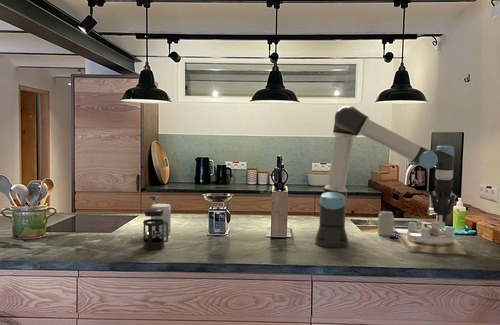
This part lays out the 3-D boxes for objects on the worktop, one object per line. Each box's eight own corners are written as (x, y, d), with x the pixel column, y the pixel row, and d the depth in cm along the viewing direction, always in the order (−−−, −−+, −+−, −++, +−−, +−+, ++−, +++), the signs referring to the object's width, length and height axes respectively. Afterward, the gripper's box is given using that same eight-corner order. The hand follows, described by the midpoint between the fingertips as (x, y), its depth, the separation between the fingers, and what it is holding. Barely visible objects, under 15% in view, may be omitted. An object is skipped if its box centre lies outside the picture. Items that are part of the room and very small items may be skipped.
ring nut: (412, 244, 189) (413, 229, 189) (403, 234, 209) (403, 219, 209) (460, 247, 187) (461, 231, 186) (446, 235, 206) (447, 221, 206)
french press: (138, 249, 186) (137, 197, 185) (146, 244, 196) (146, 194, 194) (163, 251, 185) (163, 198, 183) (171, 245, 194) (171, 195, 192)
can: (394, 237, 214) (394, 213, 213) (378, 236, 215) (379, 212, 214) (392, 233, 221) (393, 210, 220) (377, 232, 223) (377, 210, 222)
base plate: (408, 251, 189) (408, 245, 189) (398, 238, 211) (398, 233, 210) (465, 254, 186) (466, 248, 185) (449, 241, 207) (450, 235, 207)
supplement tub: (152, 237, 208) (152, 207, 207) (149, 232, 217) (149, 204, 216) (172, 235, 212) (172, 206, 211) (168, 231, 221) (168, 202, 220)
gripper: (461, 179, 197) (459, 230, 198) (436, 177, 208) (434, 224, 209) (452, 180, 193) (449, 232, 194) (426, 177, 204) (424, 226, 205)
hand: (441, 228), depth 202 cm, fingers closed
